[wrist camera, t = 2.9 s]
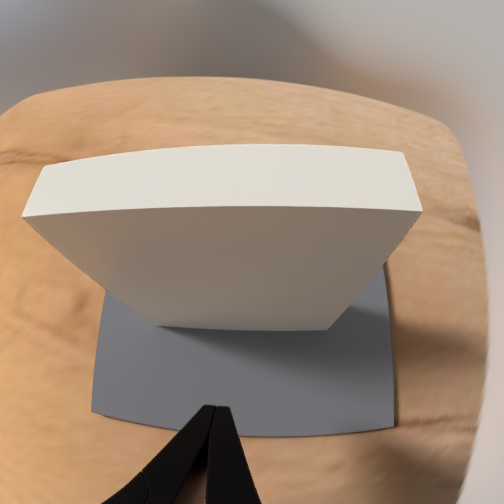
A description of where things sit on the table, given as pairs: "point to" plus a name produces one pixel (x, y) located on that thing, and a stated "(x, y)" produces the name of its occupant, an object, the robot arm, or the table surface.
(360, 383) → the mat
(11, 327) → the table surface
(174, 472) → the robot arm
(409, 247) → the table surface
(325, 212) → the tile
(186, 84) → the table surface
